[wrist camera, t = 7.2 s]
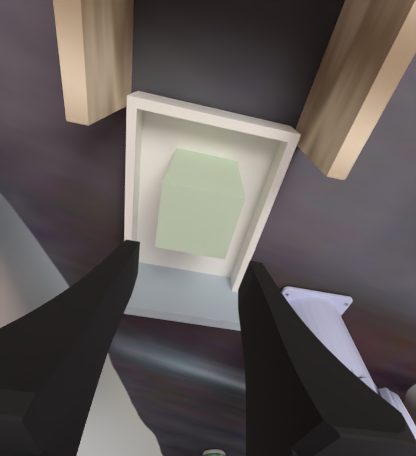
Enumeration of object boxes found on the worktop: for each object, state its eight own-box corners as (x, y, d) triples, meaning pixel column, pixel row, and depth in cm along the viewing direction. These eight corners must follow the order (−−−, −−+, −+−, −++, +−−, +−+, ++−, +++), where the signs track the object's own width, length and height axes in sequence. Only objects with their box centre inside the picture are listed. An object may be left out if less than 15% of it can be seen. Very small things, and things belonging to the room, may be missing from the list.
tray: (238, 280, 26) (244, 331, 21) (125, 261, 25) (103, 310, 20) (298, 127, 18) (331, 153, 13) (129, 88, 17) (92, 100, 12)
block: (222, 212, 21) (225, 259, 16) (169, 201, 20) (154, 247, 15) (237, 161, 18) (245, 198, 13) (177, 148, 18) (162, 181, 13)
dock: (303, 142, 18) (344, 180, 13) (116, 100, 17) (66, 120, 11) (389, -63, 13) (536, -167, 7) (115, -150, 11) (12, -370, 6)
